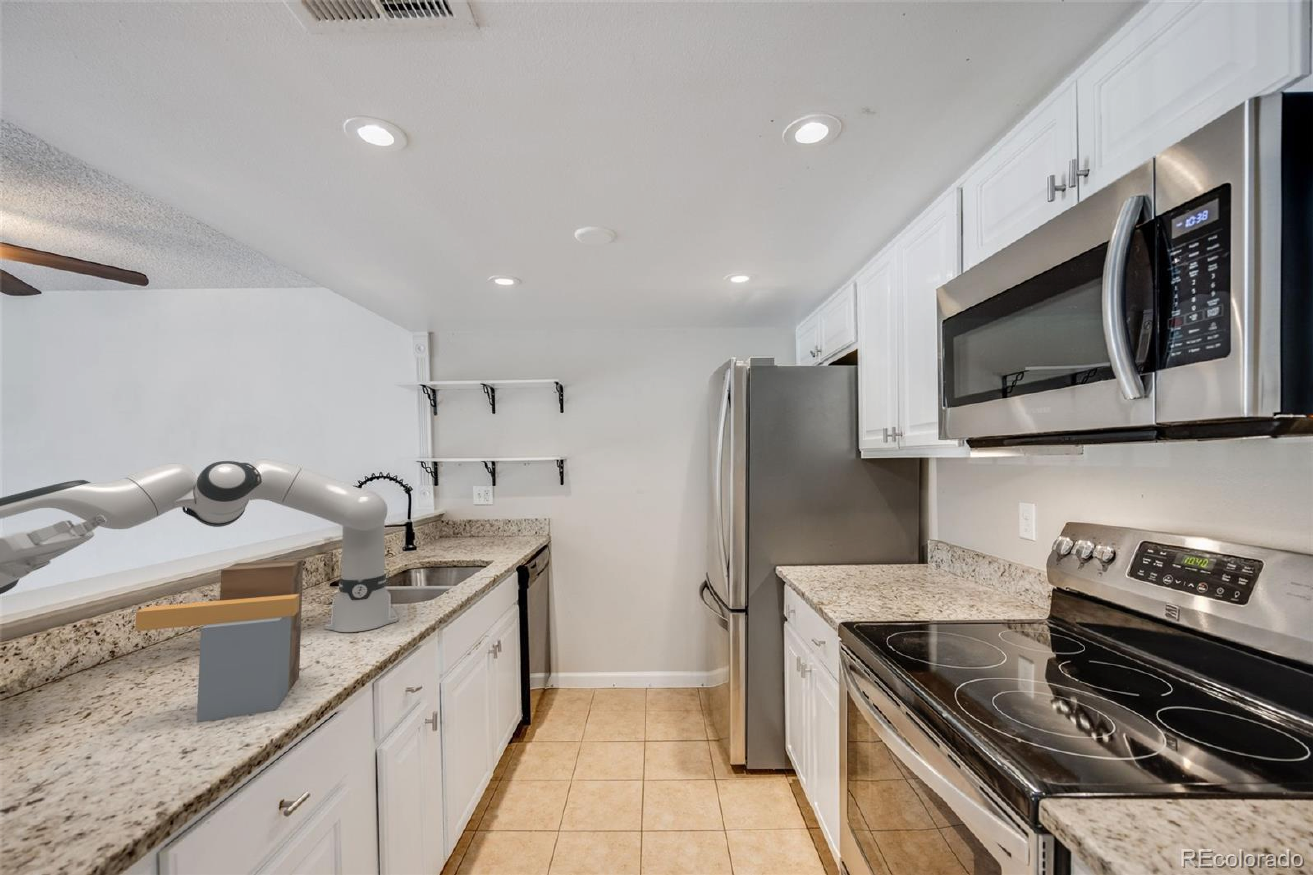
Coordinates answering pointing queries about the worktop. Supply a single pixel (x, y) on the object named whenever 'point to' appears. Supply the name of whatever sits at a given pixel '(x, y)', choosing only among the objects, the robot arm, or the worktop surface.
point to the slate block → (243, 667)
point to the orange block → (216, 612)
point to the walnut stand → (268, 593)
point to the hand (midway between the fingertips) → (87, 521)
